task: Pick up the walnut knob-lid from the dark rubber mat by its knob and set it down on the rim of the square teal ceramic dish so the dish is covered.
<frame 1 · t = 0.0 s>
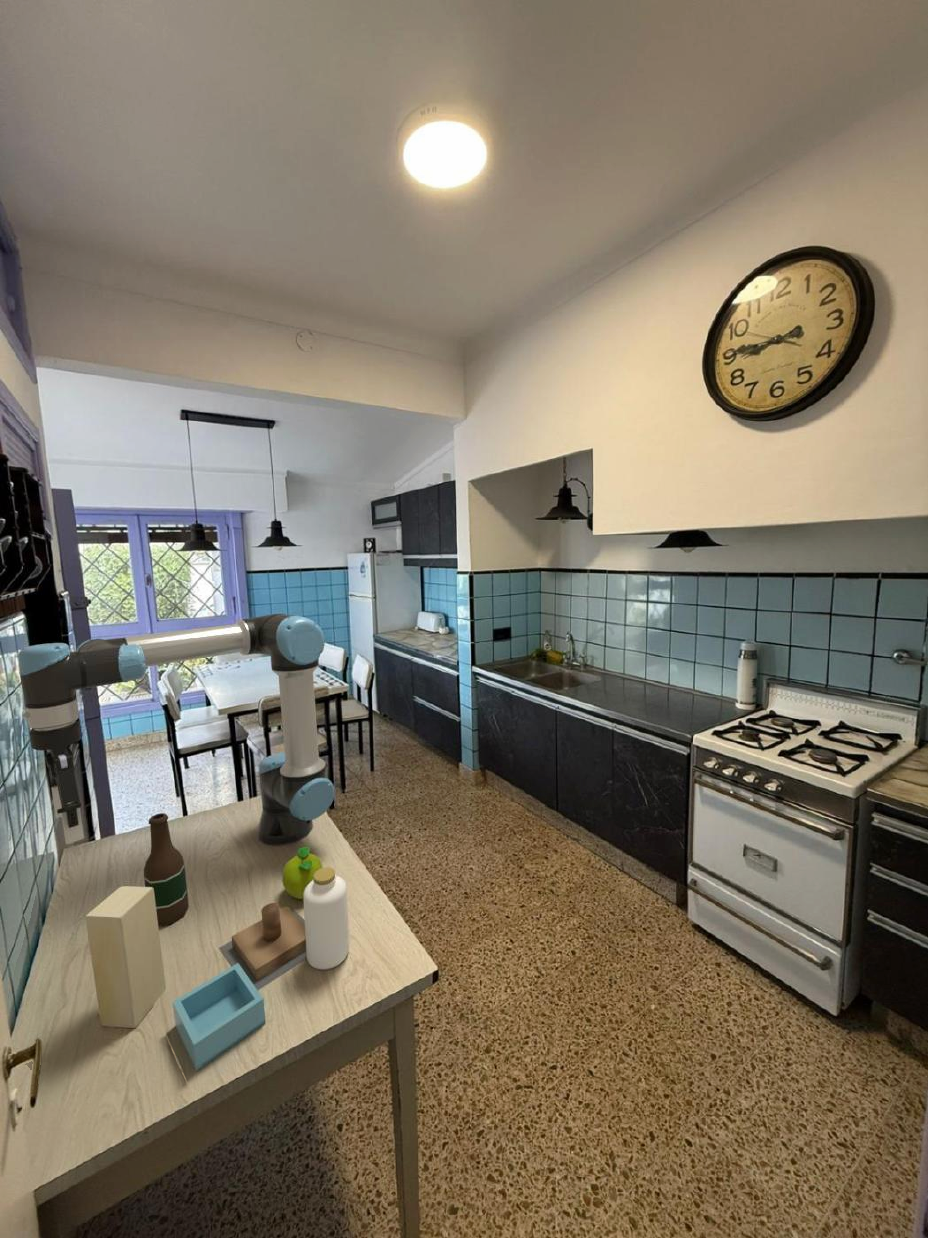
hand: (69, 827, 98), 28 cm above the table, fingers open, 13 cm apart
mat: (273, 947, 102), on the table
lid cover: (273, 946, 102), resting on mat
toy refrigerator: (133, 1008, 90), on the table
dish: (220, 1026, 86), on the table
potion bottle: (328, 956, 100), on the table, touching mat
fruit: (304, 894, 118), on the table
beer bottle: (169, 916, 113), on the table
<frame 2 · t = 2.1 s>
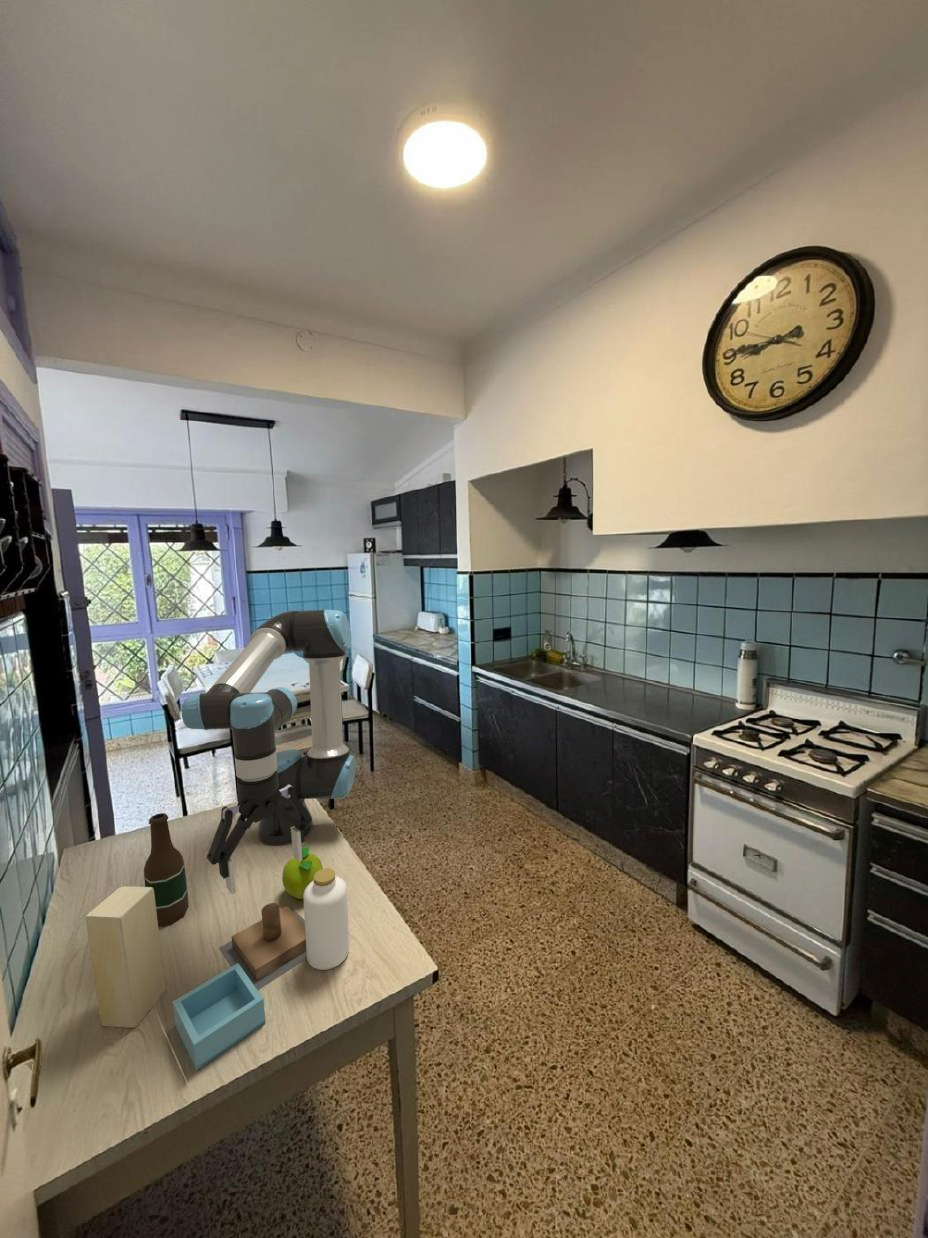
hand: (266, 873, 100), 17 cm above the table, fingers open, 13 cm apart
potion bottle: (328, 956, 100), on the table, touching mat
everything else where it was.
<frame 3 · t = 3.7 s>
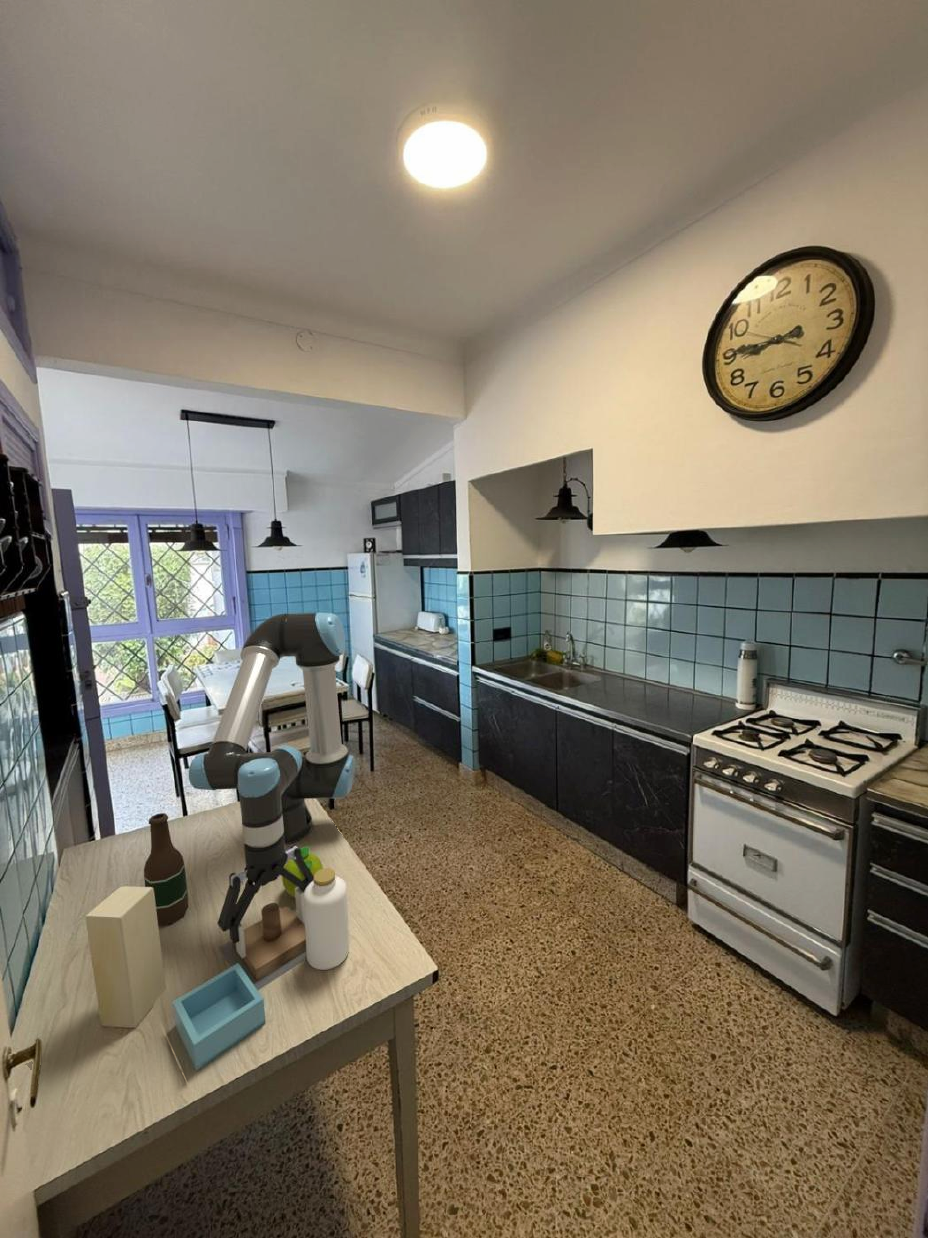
hand: (272, 935, 102), 3 cm above the table, fingers closed on lid cover, 12 cm apart
lid cover: (273, 946, 102), resting on mat, touching gripper
everything else where it was.
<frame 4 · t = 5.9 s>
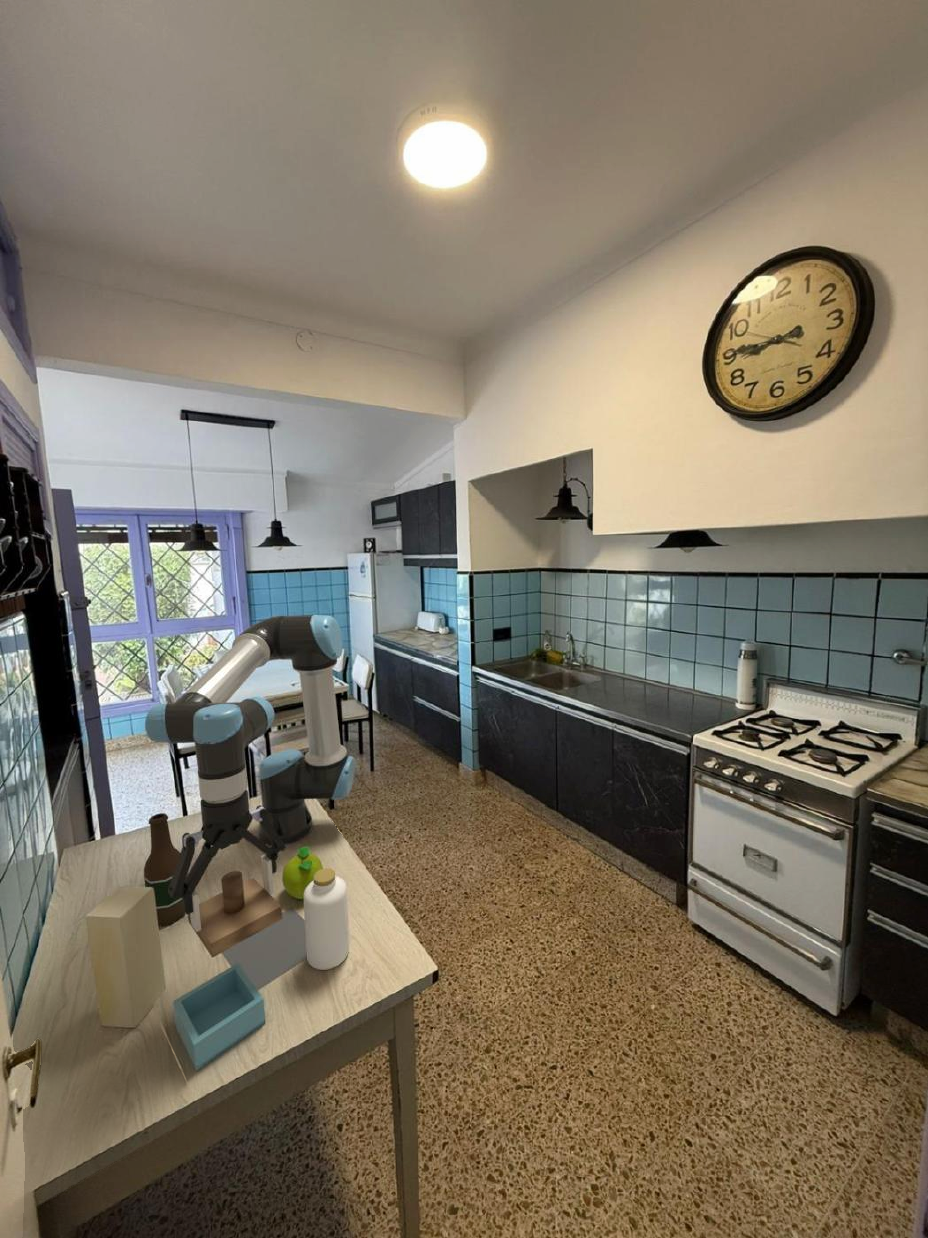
hand: (234, 908, 89), 17 cm above the table, fingers closed on lid cover, 12 cm apart
lid cover: (235, 920, 90), point 15 cm above the table, touching gripper
everything else where it was.
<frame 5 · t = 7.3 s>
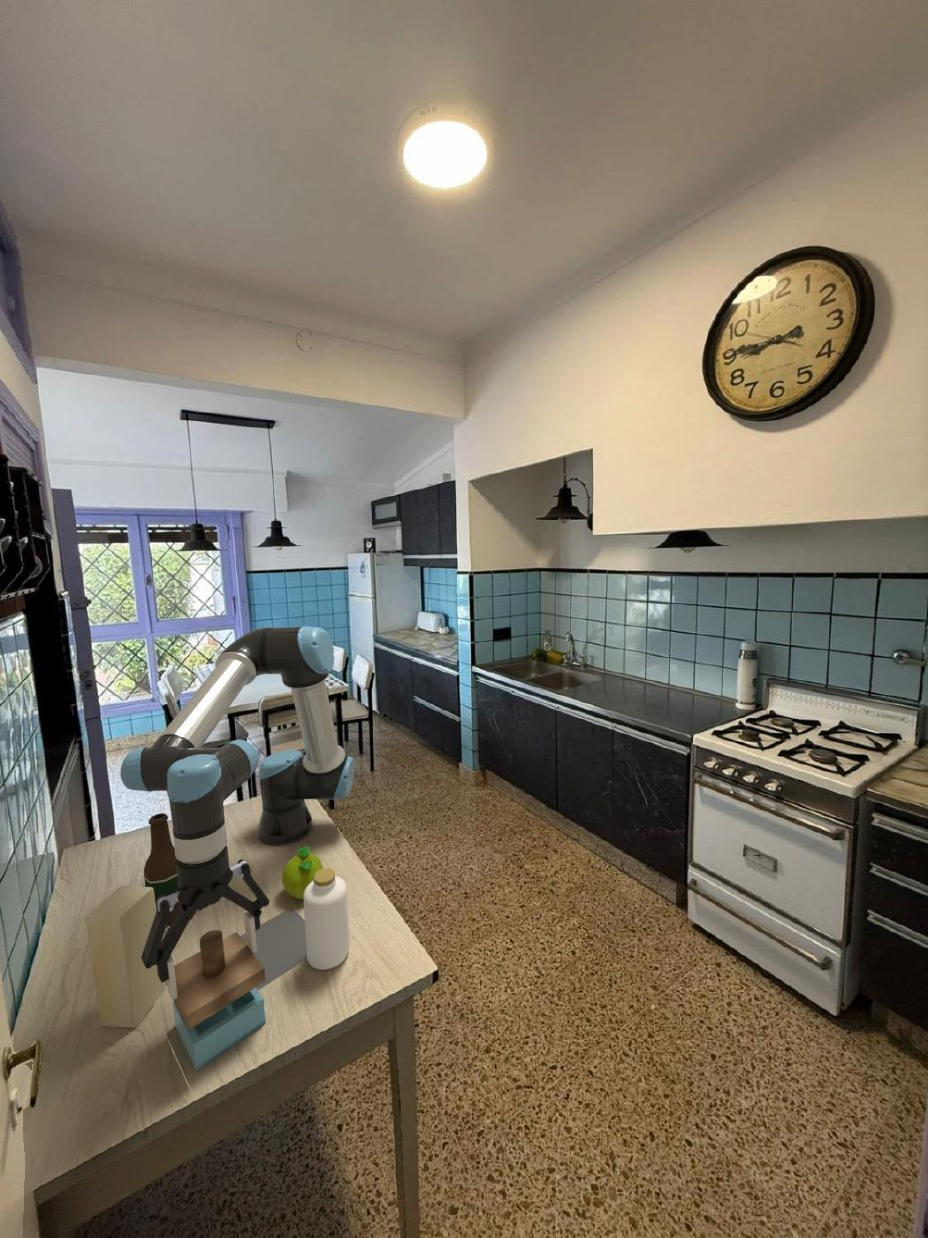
hand: (214, 970, 84), 11 cm above the table, fingers closed on lid cover, 12 cm apart
lid cover: (215, 982, 84), point 8 cm above the table, touching gripper
everything else where it was.
when the fingers open (8 cm above the table, at t = 8.4 s): lid cover stays where it is, resting on dish.
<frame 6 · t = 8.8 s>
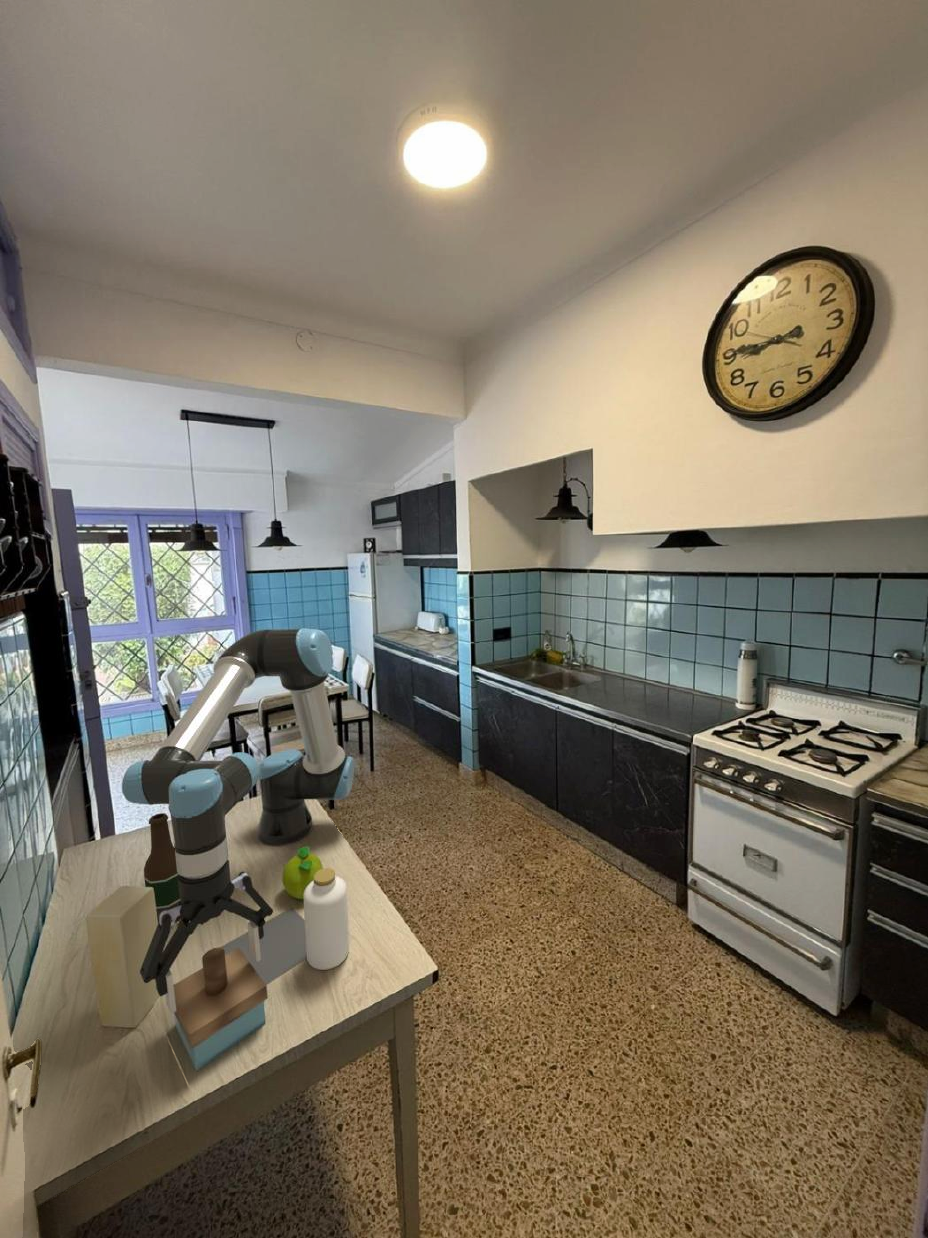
hand: (215, 981, 84), 9 cm above the table, fingers open, 13 cm apart
lid cover: (218, 1000, 85), point 5 cm above the table, touching dish
everything else where it was.
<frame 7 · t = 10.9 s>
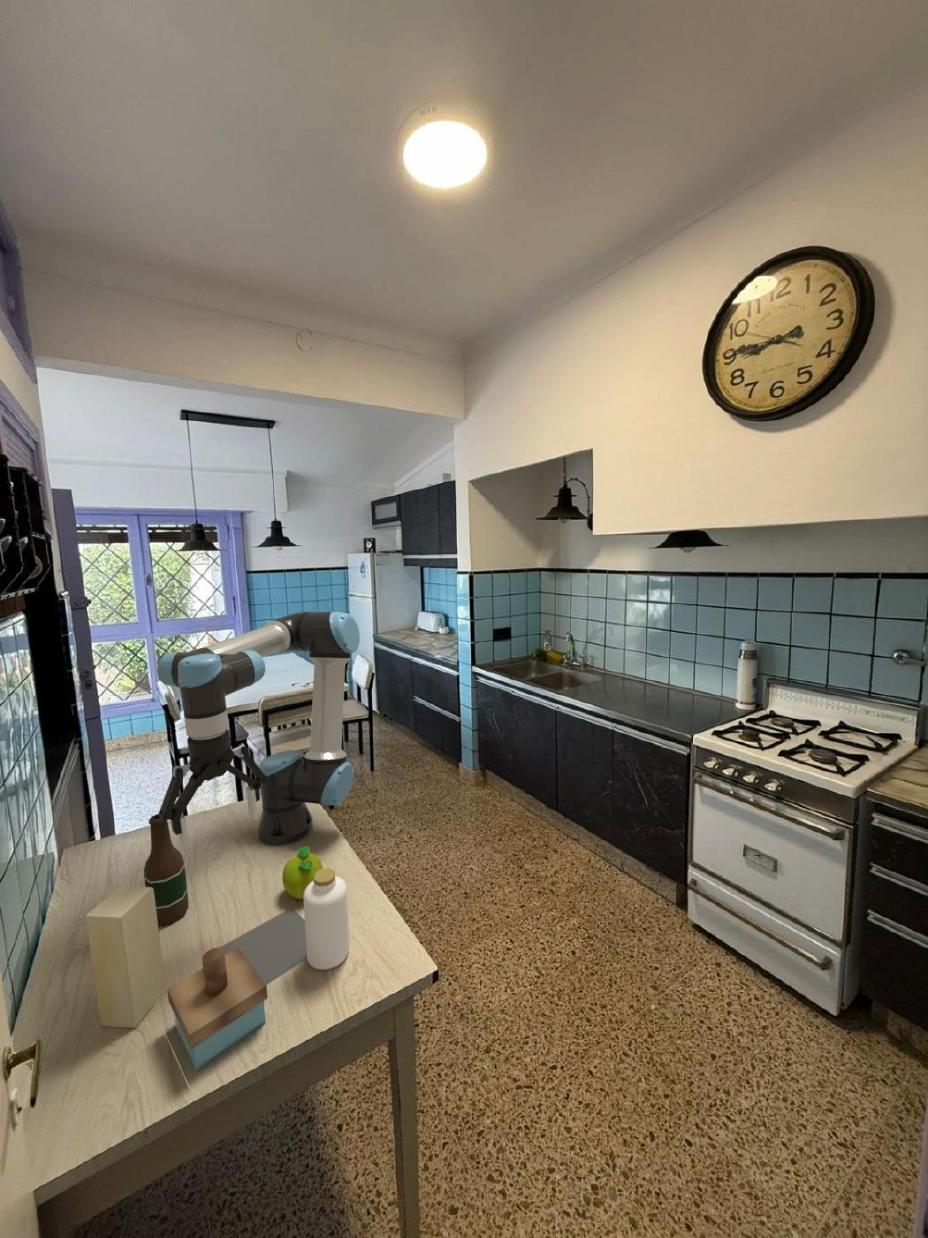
hand: (220, 831, 102), 25 cm above the table, fingers open, 13 cm apart
nothing on the table moved.
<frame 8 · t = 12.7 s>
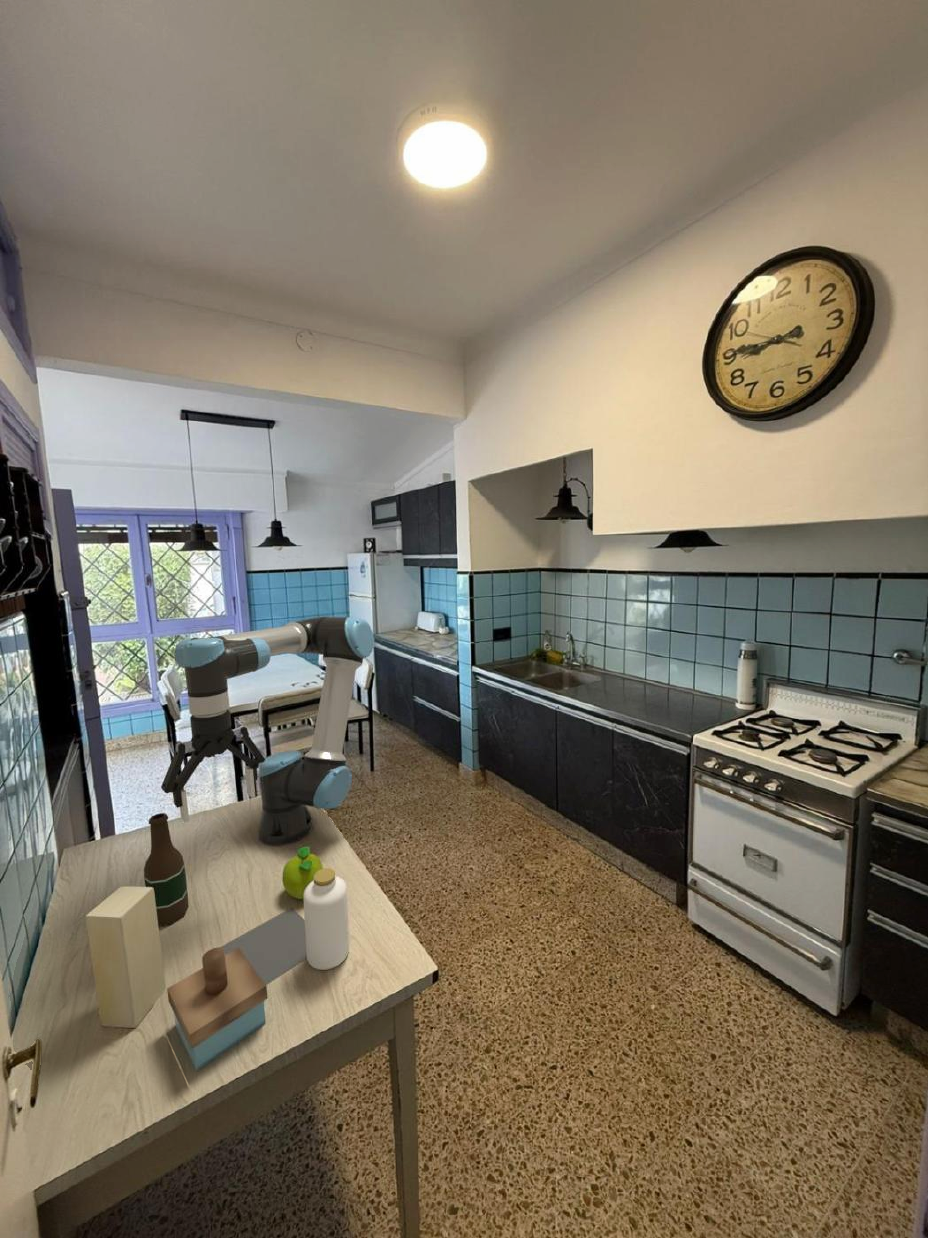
hand: (219, 807, 107), 27 cm above the table, fingers open, 13 cm apart
nothing on the table moved.
at the end: lid cover 0.0 cm off-centre on the dish, point 5.0 cm above the dish's base; lid cover tilted 0°; the gripper is holding nothing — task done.
